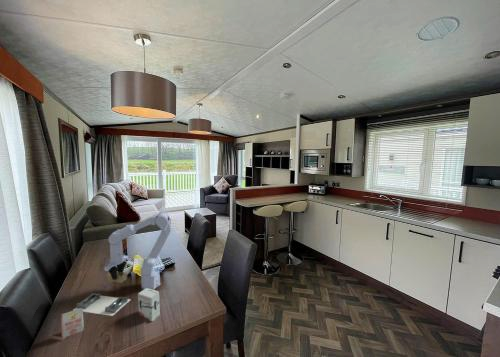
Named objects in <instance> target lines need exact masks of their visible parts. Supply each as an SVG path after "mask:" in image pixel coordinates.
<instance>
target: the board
mask: <svg viewBox="0 0 500 357" xmlns="http://www.w3.org/2000/svg"><path fill="white" fill-rule="evenodd" d="M100 297H101V298H100V299H97V300H96V301H94V302H93V303H92V304H90V305H89V306H87V308H86V309H82V311H83V313H91V314H96V315H97V314H98V315H104V316H111V317H113V316H114V315H116V314H117V313H118V312H119V311H120V310H121V309H122V308H123V307H124V306H126V305H127V303H129V302H130V301H131V300H132V299H130V298H128V302H125V303H124V304H123V305H122V306H121V307H120V308H118V309H117V310H116V312H115V313H111V312H105V308H106V307H108V306H109V305H111V304H112V303H113V302H114V301H115V300H117V299H118V297H116V296H115V297H114V296H106V295H100ZM78 309H81V308H77V306H76V307H74V308H73V309H72V311H74V310H78Z"/></svg>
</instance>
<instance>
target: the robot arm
mask: <svg viewBox="0 0 500 357" xmlns="http://www.w3.org/2000/svg"><path fill="white" fill-rule="evenodd" d="M149 225H151V226H157V227H158V228H159V230H160V231H161V232H160V233H159V235H158V237H157V240H155V241H156V242H155V243H154V245H153V247H152V249H151V250H150V253H149V254H148V256H147V258H145V259H144V261H143V263H142V266H141V268H140V277H141V279H140V282H141V284H140V285H141V287H140V288H141V289H142V290H144V289H145V288H149V289H152V290H155V289H156V288H157V287H159V286H160V285H161V284H162V283H161V276H160V275H161V274H160V273H159V272H157V271H156V270H155V267H154V266H155V264H156V260H157V258H158V257H159V255H160V253H161V251H162V249H163V247H164V246H165V243H166V241H167V240H168V238H169V235H170V233H171V231H172V226H171V225H172V224H171V217H170V215H169V214H168V213H167V212H166V211H160V212H159V213H154V214H152V215H151V216H149V217H147V218H145V219H143V220H141V221H140V222H137V223H135V224H126V225H125V227H122V228H120V229H119V228H118V229H117V230H115V231H113V232H112V233H111V234H110V235H109V237H108V238H107V239H108V240H107V241H108V243H109V250H110V251H109V252H110V260H109V263H108V264H107V265H106V266H104V272H108V274H109V273H110V274H111V277H112V279H113V280H116V279H117V272H124V269H125V268H126V265H127V263H128V262H127V261H126V260H128V259H129V255H123V254H124V253H123V240H126V239H127V238H129V237H132V236H133V235H135V234H136V233H137V231H139V230H140V229H142V228H145V227H148V226H149Z"/></svg>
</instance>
